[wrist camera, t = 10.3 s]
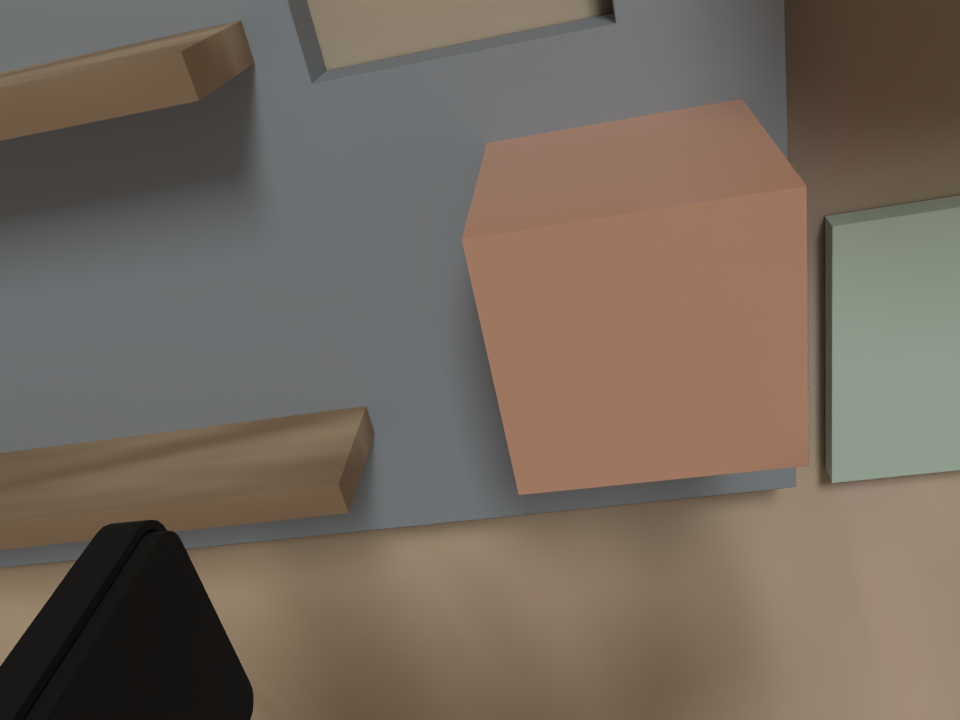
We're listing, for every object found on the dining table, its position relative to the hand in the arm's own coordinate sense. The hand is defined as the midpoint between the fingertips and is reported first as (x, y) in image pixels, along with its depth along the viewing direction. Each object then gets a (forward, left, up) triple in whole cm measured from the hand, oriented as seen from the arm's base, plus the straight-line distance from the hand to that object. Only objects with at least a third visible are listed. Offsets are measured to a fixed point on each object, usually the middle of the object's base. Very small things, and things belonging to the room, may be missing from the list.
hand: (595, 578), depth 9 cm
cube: (0, +1, -10) cm, 10 cm away
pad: (+5, +9, -11) cm, 15 cm away
